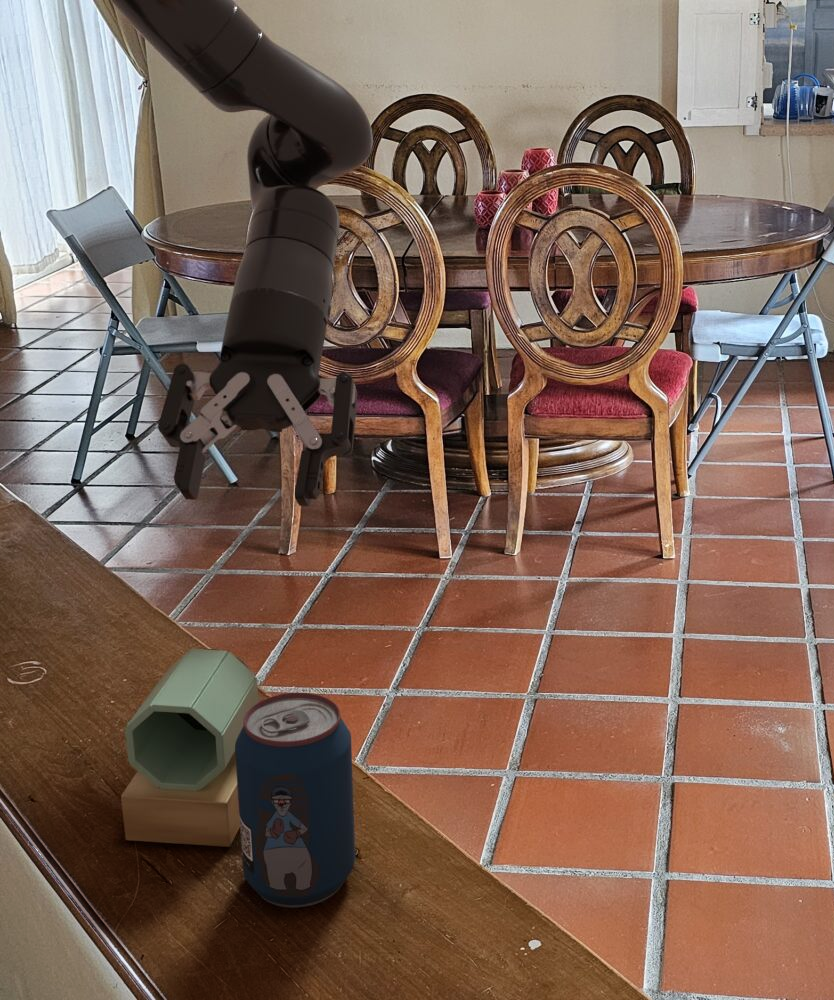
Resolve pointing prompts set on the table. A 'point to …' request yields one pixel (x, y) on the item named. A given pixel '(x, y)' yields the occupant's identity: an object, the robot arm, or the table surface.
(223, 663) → the octagonal tube
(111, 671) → the table surface
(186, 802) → the step
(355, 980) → the table surface
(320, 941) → the table surface
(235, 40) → the robot arm
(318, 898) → the soda can
